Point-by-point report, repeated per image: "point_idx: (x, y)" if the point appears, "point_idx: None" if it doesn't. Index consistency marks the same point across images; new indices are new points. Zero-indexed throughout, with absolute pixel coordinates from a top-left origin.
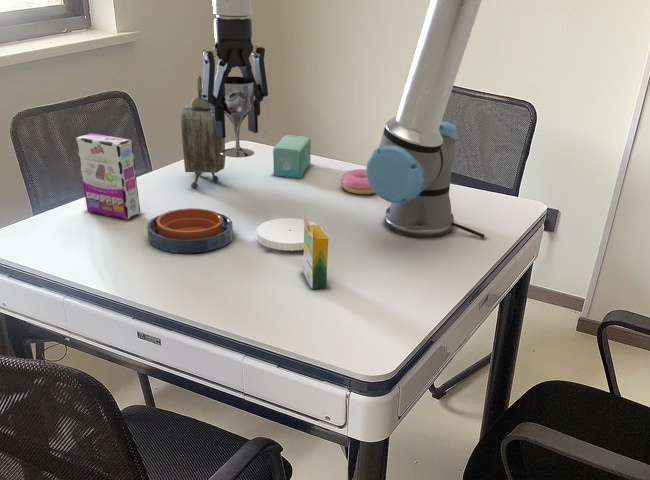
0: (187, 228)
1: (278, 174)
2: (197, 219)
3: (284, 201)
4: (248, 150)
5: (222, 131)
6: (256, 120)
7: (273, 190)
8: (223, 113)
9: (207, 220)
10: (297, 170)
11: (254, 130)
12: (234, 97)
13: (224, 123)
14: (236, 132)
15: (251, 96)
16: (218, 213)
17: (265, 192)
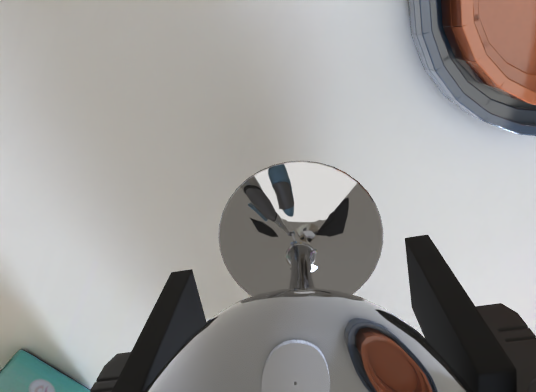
0: (533, 58)
1: (77, 385)
2: (505, 61)
3: (131, 189)
4: (246, 232)
5: (438, 252)
6: (159, 314)
7: (132, 287)
8: (464, 325)
9: (481, 33)
10: (16, 365)
11: (190, 281)
12: (420, 371)
13: (433, 282)
14: (311, 284)
15: (175, 380)
16: (432, 54)
17: (162, 280)
